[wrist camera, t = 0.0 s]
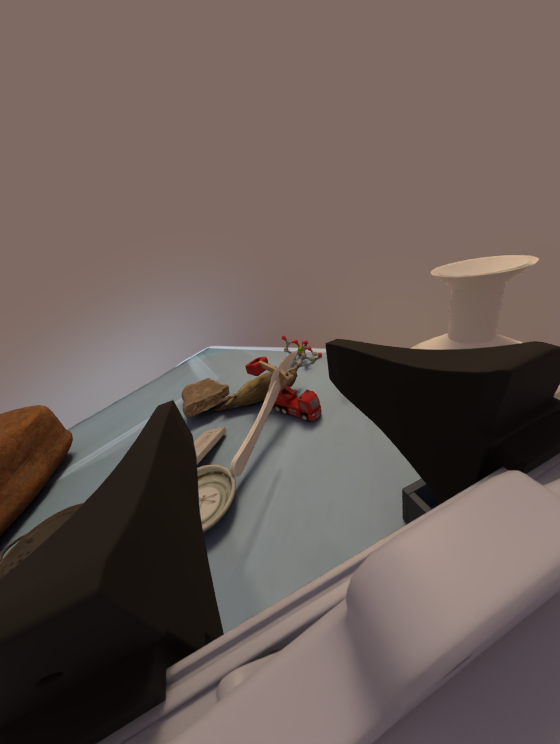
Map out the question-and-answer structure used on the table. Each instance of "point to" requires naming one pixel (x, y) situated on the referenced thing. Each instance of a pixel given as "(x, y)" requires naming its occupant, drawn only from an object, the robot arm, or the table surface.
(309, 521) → the table surface
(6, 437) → the bread
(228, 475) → the saucer
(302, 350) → the molecular model
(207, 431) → the pregnancy test
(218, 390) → the decorative stone
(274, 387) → the knife
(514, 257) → the white vase
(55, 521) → the alarm clock
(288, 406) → the toy fire truck
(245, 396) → the root vegetable
